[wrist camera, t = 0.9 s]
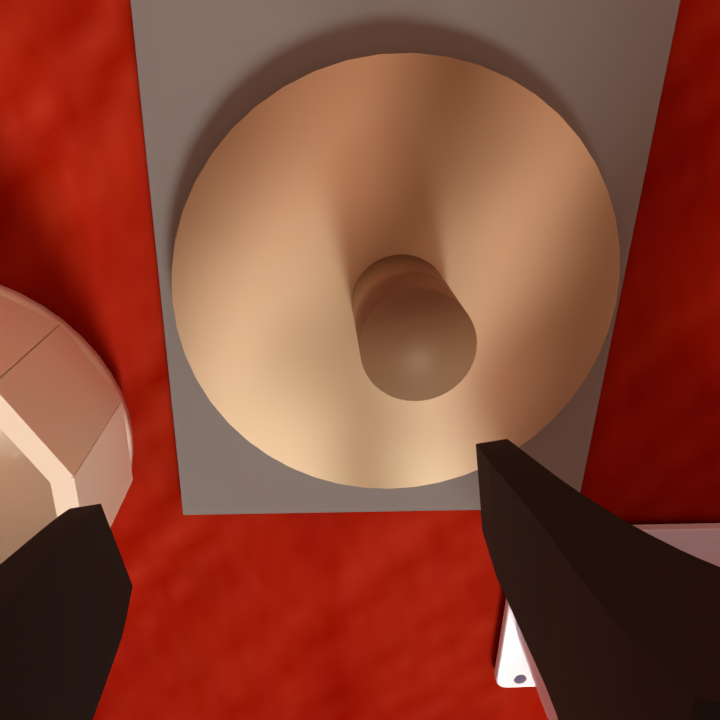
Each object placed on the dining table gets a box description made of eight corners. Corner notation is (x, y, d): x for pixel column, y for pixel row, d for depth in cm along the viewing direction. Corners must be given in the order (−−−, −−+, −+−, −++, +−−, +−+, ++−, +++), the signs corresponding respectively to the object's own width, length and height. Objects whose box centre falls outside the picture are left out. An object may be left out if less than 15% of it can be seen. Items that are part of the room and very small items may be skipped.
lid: (649, 63, 17) (756, 53, 13) (570, 472, 22) (628, 559, 18) (155, 45, 16) (100, 28, 12) (194, 477, 21) (165, 569, 17)
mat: (670, 2, 16) (680, 0, 16) (572, 499, 23) (577, 507, 22) (133, -21, 15) (127, -25, 15) (186, 506, 22) (183, 514, 21)
